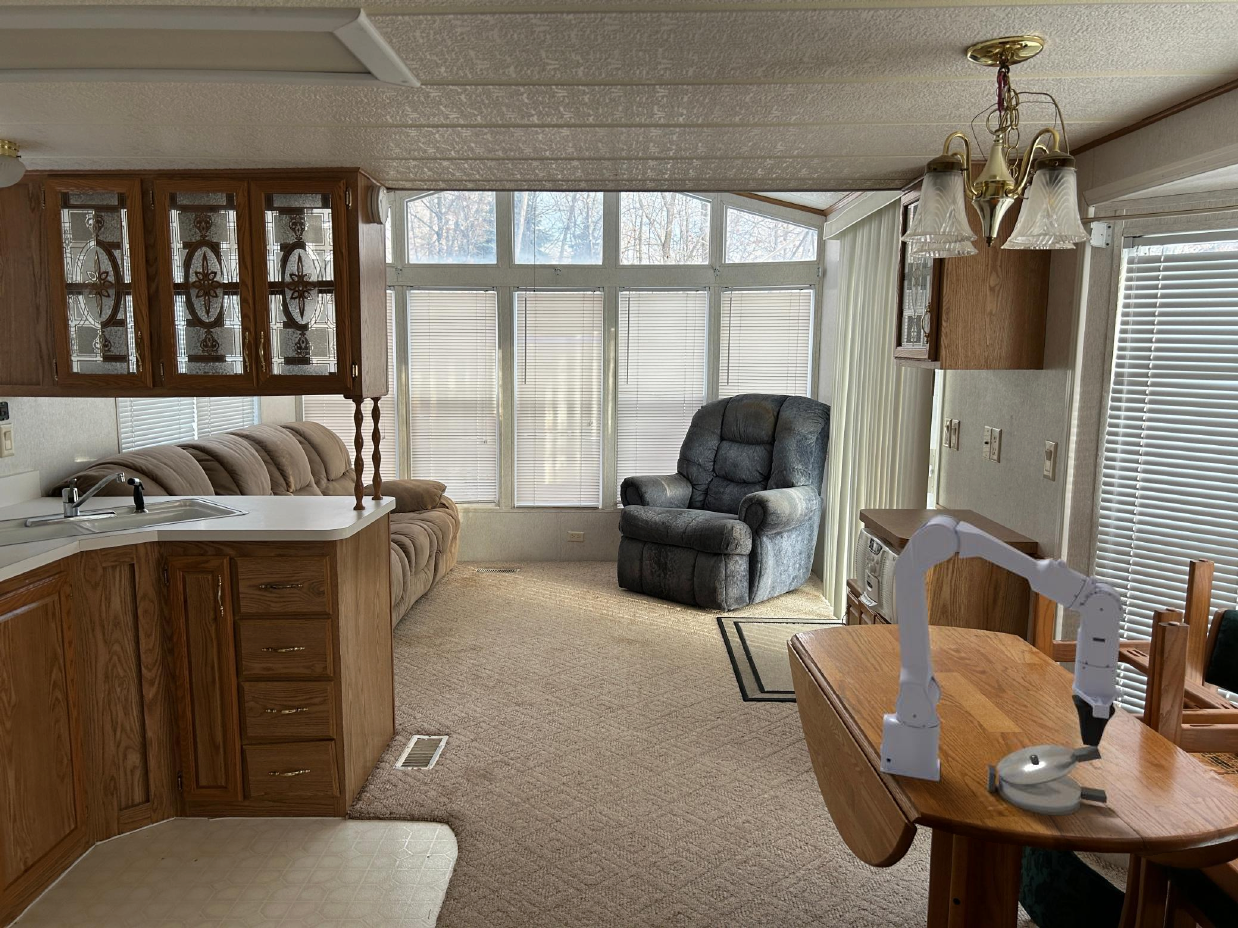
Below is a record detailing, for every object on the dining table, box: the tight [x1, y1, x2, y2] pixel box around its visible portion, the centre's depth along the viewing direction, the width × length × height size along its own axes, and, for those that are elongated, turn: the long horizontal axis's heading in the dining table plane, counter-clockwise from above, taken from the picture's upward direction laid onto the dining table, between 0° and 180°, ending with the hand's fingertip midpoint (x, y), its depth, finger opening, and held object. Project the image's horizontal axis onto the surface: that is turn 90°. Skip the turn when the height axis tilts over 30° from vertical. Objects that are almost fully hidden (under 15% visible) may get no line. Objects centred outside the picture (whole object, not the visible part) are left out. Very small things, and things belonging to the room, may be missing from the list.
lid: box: [996, 744, 1103, 785], centre depth 138 cm, size 16×12×2 cm
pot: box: [987, 764, 1108, 816], centre depth 138 cm, size 17×12×3 cm
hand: (1090, 743), depth 135 cm, fingers closed
